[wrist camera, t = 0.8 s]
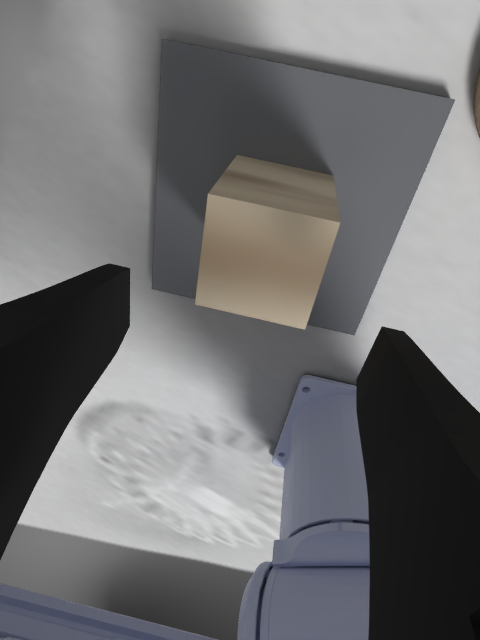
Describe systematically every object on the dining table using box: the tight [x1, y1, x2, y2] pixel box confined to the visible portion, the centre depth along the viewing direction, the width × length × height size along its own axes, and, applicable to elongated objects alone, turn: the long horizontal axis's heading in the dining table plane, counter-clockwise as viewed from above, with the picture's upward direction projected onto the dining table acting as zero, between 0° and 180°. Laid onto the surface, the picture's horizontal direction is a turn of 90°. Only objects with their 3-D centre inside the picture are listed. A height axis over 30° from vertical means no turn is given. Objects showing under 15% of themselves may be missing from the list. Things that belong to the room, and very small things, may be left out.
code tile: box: [152, 39, 455, 335], centre depth 19 cm, size 12×12×1 cm
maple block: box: [195, 155, 340, 330], centre depth 17 cm, size 4×4×6 cm
